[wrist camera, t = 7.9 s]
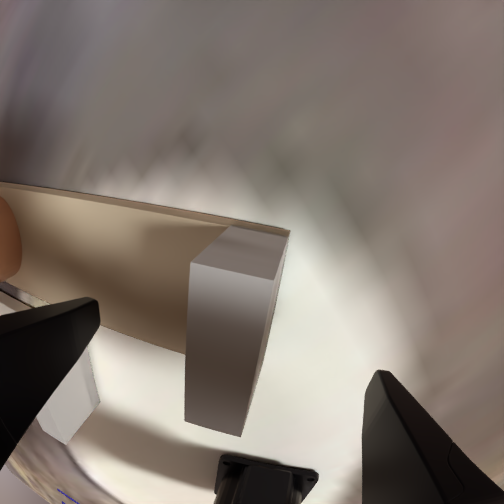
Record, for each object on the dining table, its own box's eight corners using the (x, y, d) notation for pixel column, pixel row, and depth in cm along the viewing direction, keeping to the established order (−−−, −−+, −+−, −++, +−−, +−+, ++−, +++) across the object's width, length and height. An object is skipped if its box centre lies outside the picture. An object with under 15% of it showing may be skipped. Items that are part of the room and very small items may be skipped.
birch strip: (263, 360, 13) (240, 437, 9) (-33, 251, 17) (-72, 270, 12) (290, 230, 11) (273, 280, 7) (-39, 177, 14) (-84, 189, 10)
